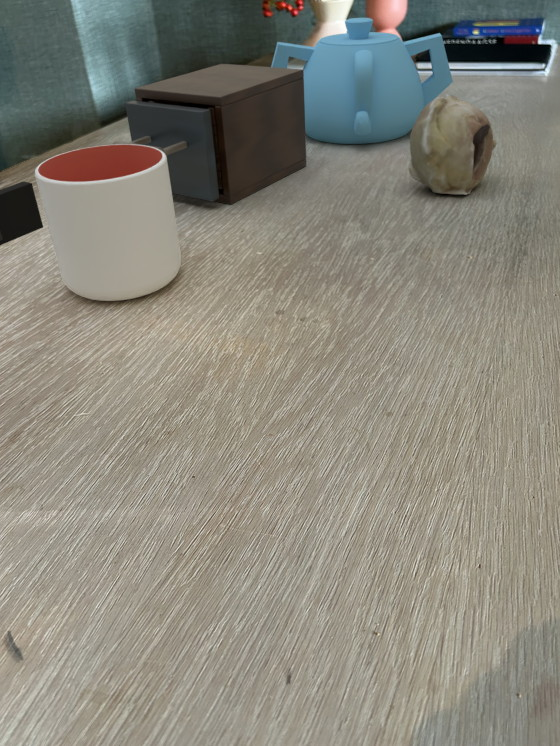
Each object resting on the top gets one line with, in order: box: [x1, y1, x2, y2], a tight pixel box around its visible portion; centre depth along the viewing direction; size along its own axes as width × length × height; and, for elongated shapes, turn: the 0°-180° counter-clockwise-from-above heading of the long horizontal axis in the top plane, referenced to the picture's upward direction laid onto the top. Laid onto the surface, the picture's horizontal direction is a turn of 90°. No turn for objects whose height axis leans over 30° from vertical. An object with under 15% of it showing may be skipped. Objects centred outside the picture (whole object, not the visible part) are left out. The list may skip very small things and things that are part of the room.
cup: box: [34, 144, 182, 302], centre depth 54 cm, size 10×10×10 cm
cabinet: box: [134, 63, 307, 205], centre depth 76 cm, size 15×12×11 cm
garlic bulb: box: [408, 93, 498, 196], centre depth 70 cm, size 9×8×10 cm
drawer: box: [111, 99, 223, 202], centre depth 72 cm, size 19×11×9 cm, turn 145°
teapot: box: [270, 17, 454, 145], centre depth 90 cm, size 19×19×14 cm
